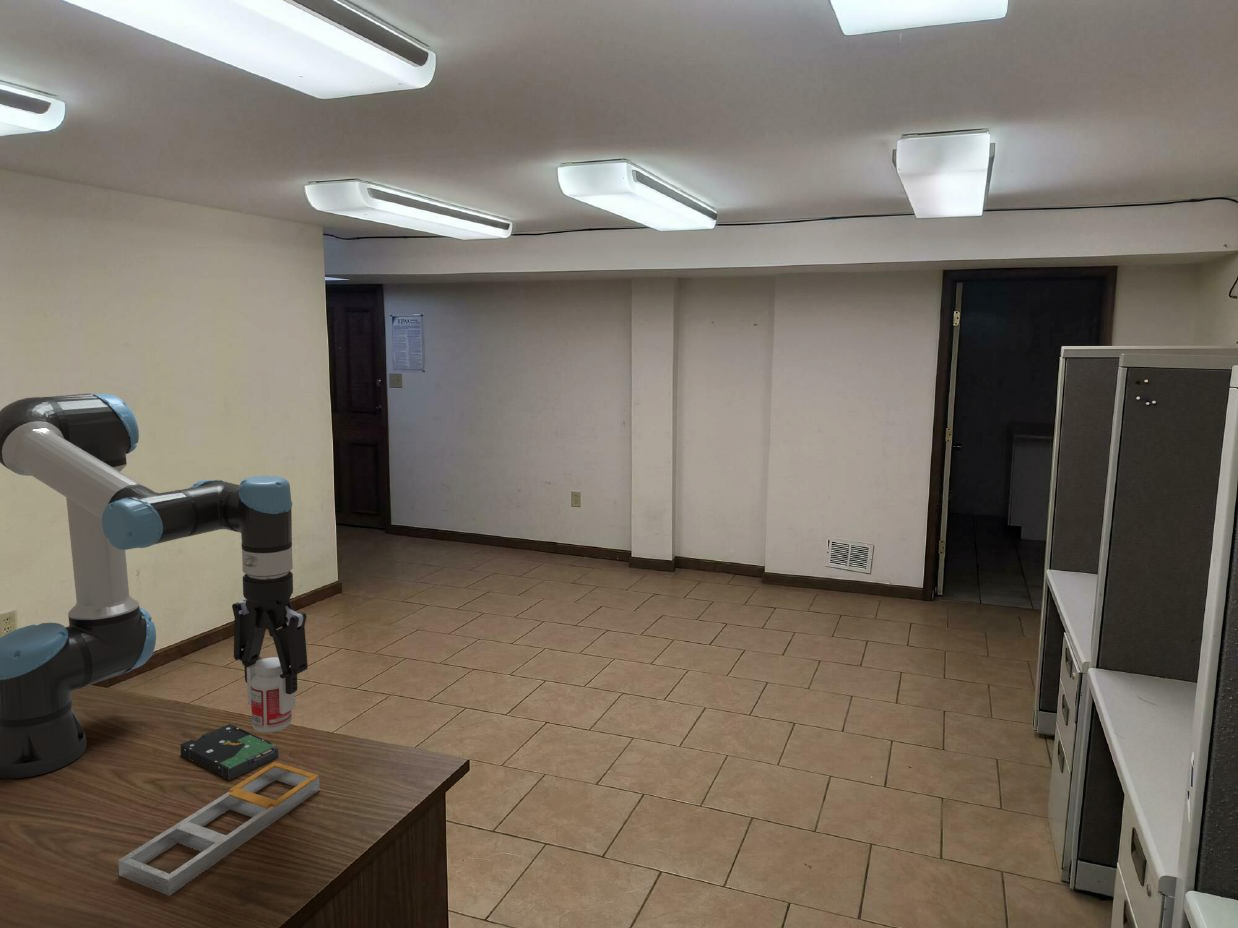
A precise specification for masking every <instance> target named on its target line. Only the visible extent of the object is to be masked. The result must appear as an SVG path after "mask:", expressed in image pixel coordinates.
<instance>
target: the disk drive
mask: <svg viewBox="0 0 1238 928" xmlns="http://www.w3.org/2000/svg"><path fill="white" fill-rule="evenodd" d="M181 755H182V756H181ZM180 756H181V757H183V756H184V759H186V758H188V759H191V760H193V761H194V762H193V761H192V762H193V763H195V762H196V763H195V764H197V763H198V764H197V765H199V764H200V765H199V766H201V765H202V766H204V767H206V768H207V769H206V768H205V769H206V770H208V769H210V770H211V771H210V770H209V771H210V772H212V771H213V772H212V773H214V772H215V773H214V774H216V773H217V774H216V775H218V776H219V775H220V776H219V777H221V776H223V777H225V778H226V780H227V779H228V780H227V781H231V779H232V780H234V779H235V777H236V778H237V776H238V775H240V776H242V775H244V774H246V773H248V772H251V771H252V770H255V769H256V768H259V767H261V766H262V765H265V764H267V763H268V762H271V761H272V760H275V759H277V758H279V748H277V746H276V745H275V744H273V743H272V742H271V741H269V740H266V739H264V738H262V737H259V736H258V735H256V734H253V733H250V732H249V731H246V730H244V729H242V728H241V727H239V726H236V725H234V724H231V723H228V724H226V725H223V726H222V727H219V728H217V729H214V730H211V731H209V732H207V733H205V734H202V735H201V736H200V737H199V738H198V739H197V740H193V739H190V740H188V741H185V742H182V743H181V744H180ZM188 759H187V760H188ZM191 760H190V761H191ZM202 766H201V767H202ZM204 767H203V768H204ZM241 774H242V775H241ZM223 777H222V778H223ZM238 777H239V776H238ZM225 778H224V779H225ZM233 778H234V779H233Z"/></svg>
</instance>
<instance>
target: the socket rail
mask: <svg viewBox="0 0 1238 928" xmlns="http://www.w3.org/2000/svg"><path fill="white" fill-rule="evenodd" d="M275 781H277V782H280V783H283V784H286V785H289V786H291V787H292V786H293V788H292V789H290V790H289V791H287V792H286V793H284V794H283V795H281V796H280V797H278V798H276V799H274V798H273V799H272V798H271V797H267V796H263V795H261V794H257V793H258V792H259V791H260V790H262V789H264V788H265V787H267V786H268V785H270V784H271V783H273V782H275ZM319 791H320V775H319V774H316V773H314V772H310V771H307V770H303V769H300V768H296V767H294V766H290V765H287V764H284V763H281V762H277V761H273V762H272V763H270V764H268V765H267V766H264V768H262V769H260V770H259V771H257V772H255V773H253V774H252V775H251V776H249V777H247V778H246V779H245V778H244V780H242V781H241V782H239V783H238V784H236V785H234V786H233V787H231V788H229V790H228V791H227V792H226V793H224V794H223V795H220V796H219V797H218V798H216V799H214V800H213V801H211V802H210V803H208V804H207V805H204V806H203V807H202V808H200V809H198V810H196V811H195V812H194V813H192V814H190V815H189V816H188V817H186V818H183V819H182V820H181V821H179V822H177V823H176V824H174V825H173V826H171V827H169V828H168V829H166V830H164V831H163V832H161V833H159V834H158V835H156V836H154V837H153V838H152V839H150V840H148V841H147V842H145V843H144V844H142V845H140V846H139V847H138V848H137V847H136V848H135V849H134V850H132V851H131V852H129V853H128V854H126V855H125V856H123V857H120V858H119V859H118V875H119V876H118V877H122V878H124V879H127V880H129V881H131V882H134V883H136V884H139V885H141V886H143V887H146V888H149V889H151V890H153V891H156V892H159V893H161V894H164V895H165V896H168V897H170V896H172V895H173V894H175V893H176V892H177V891H179V890H180V889H181V888H183V887H185V886H186V885H187V884H189V883H190V882H192V881H193V880H194V879H196V878H197V877H199V876H200V875H201V874H202V872H203V873H204V872H206V871H207V870H208V869H210V868H211V867H212V866H214V865H216V864H217V863H218V862H220V861H221V860H222V858H223V859H224V858H225V857H227V856H228V855H230V854H232V853H233V852H234V851H235V850H237V849H238V848H239V847H241V846H242V845H244V844H245V843H247V842H248V841H249V840H251V839H252V838H253V837H255V836H257V835H258V834H260V833H261V832H263V830H265V829H267V828H268V827H270V825H272V824H274V823H276V821H278V820H279V819H281V818H282V817H284V816H285V815H286V814H287V813H290V812H291V811H292V810H293V809H295V808H296V807H297V806H299V805H300V804H302V803H303V802H304V801H306V800H307V799H309V798H310V797H312V796H313V795H315V794H316V793H317V792H319ZM226 811H227V812H228V811H233V812H235V813H239V814H241V815H244V816H247V817H250V819H248V820H247V821H245V822H244V823H242V824H241V825H239V826H238V827H236V828H235V829H233V830H232V831H230V832H229V833H228V834H223V833H220V832H218V831H215V830H212V829H209V828H207V827H205V826H206V825H208V824H209V823H211V822H212V821H214V820H216V819H218V818H220V816H221V815H223V814H225V813H227V812H226ZM177 844H179V845H181V844H182V846H184V847H186V848H189V847H190V848H189V849H192V848H193V849H192V850H194V851H197V850H198V852H200V853H198V854H196V856H194V857H191V859H190V860H188V861H187V862H185V863H183V864H182V865H180V866H179V867H178V868H176V869H175V870H173V871H171V872H170V873H168V872H166V871H164V870H160V869H158V868H155V867H153V866H150V865H148V863H149V862H150V861H152V860H154V859H155V858H157V857H159V856H160V855H162V854H163V853H164V852H166V851H168V850H169V849H171V848H172V847H174V846H175V845H177ZM173 845H174V846H173ZM205 870H206V871H205ZM199 874H200V875H199ZM196 876H197V877H196ZM195 877H196V878H195ZM192 879H193V880H192ZM189 881H190V882H189ZM188 882H189V883H188ZM186 883H187V884H186ZM185 884H186V885H185ZM178 889H179V890H178Z"/></svg>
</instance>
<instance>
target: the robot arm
mask: <svg viewBox="0 0 1238 928" xmlns="http://www.w3.org/2000/svg"><path fill="white" fill-rule="evenodd" d="M139 431H140V430H139V426H138V422H137V419H136V416H135V414H134V413H133V411H132V409H131V408H130V407H129V406H128V405H127V403H126V402H125V401H124V400H123V399H121V398H119V397H118V396H116V395H114V394H110V393H91V392H90V393H79V394H67V395H56V396H52V395H51V396H33V397H25V398H22V399H17V400H15V401H13V402H11V403H9V404H7V405H5V406H4V407H3V408H2V409H0V464H1V465H2V466H3V467H5V468H6V469H8V470H9V471H11V472H13V473H15V474H17V475H20V476H26V477H28V476H29V477H31V476H32V477H33V478H35V479H36V480H37V481H40V482H41V483H43V484H45V485H46V486H48V487H49V488H51V489H53V490H54V491H56V492H57V493H58V494H60V495H62V496H64V497H65V499H66V508H67V521H68V528H69V539H70V548H71V551H70V552H71V558H72V568H73V569H72V570H73V580H74V589H75V598H76V603H75V605H74V606H73V607H72V608H71V609H70V610H69V611H68V613H67V616H68V626H65V625H63V624H61V623H57V622H42V623H41V622H40V623H38V624H30V625H26V626H22V627H19V628H18V629H14V630H12V631H9V632H8V633H6V634H4V635H2V636H1V637H0V779H22V778H28V777H35V776H40V775H44V774H47V773H50V772H53V771H56V770H59V769H61V768H64V767H65V766H68V765H70V764H71V763H74V762H75V761H76V760H77V759H79V758H80V757H81V756H82V755H83V754H84V753H85V752H86V749H87V735H86V732H85V731H84V729H83V727H82V724H81V723H80V721H79V719H78V717H77V715H76V713H75V710H74V709H73V699H72V693H73V692H74V691H76V690H79V689H82V688H85V687H88V686H91V685H94V684H96V683H99V682H101V681H106V680H108V679H110V678H111V679H112V678H114V677H117V676H120V675H125V674H127V673H129V672H131V671H132V670H135V669H138V668H140V667H142V666H143V665H145V664H146V663H147V661H148V660H150V658H151V657H152V655H153V654H154V651H155V649H156V648H155V647H156V642H157V630H156V626H155V623H154V621H152V619H153V618H152V615H151V614H150V613H149V612H148V611H147V610H146V609H145V608H143V607H140V602H139V601H138V600H136V599H135V598H133V597H131V595H130V588H129V578H128V576H129V575H128V567H127V564H128V563H127V556H126V555H127V554H126V551H127V550H133V549H144V548H148V547H151V546H154V545H157V544H161V543H166V542H170V541H174V540H175V541H176V540H179V539H183V538H187V537H192V536H196V535H197V536H198V535H202V534H206V533H210V532H215V531H220V530H227V531H232V532H237V533H240V535H241V536H240V538H241V561H242V562H241V563H242V572H243V573H244V574H243V576H242V591H243V592H242V596H243V597H244V599H243V600H240V601H237V602H235V603H233V604H232V605H231V607H232V613H233V616H234V623H233V624H234V625H233V628H234V629H233V659H234V660H235V661H238V660H239V661H241V663H242V665H243V666H244V669H243V670H244V682H245V683H246V691H247V705H250V706H251V679H252V678H253V676H254V675H256V673H255V664H256V662H258V661H259V660H262V659H263V657H261V651H262V646H263V644H264V638H265V633H266V631H267V630H268V635H269V636H270V637H271V638H272V639H273V642H274V646H275V651H276V654H277V657H278V658H279V662H280V665H281V669H282V673H283V674H281V675H279V707H280V713H281V714H285V713H286V712H288V711H290V710H293V709H296V692H297V691H298V675H299V674H301V673H303V672H305V671H307V670H308V668H309V667H308V666H309V665H308V663H309V662H308V655H307V653H308V651H307V640H306V629H305V628H306V627H305V626H306V622H307V617H308V616H307V614H306V612H303V611H302V612H300V613H298V612H297V611H295V610H293V606H292V603H291V597H292V595H293V593H294V575H293V574H294V573H293V572H292V571H291V570H292V569H294V566H293V527H292V526H293V524H292V523H293V522H292V521H293V520H292V519H293V517H292V514H293V513H292V507H293V501H292V495H291V494H292V493H291V486H290V485H291V484H290V482H289V480H288V479H286V478H284V477H282V476H281V477H280V476H274V475H273V476H271V475H258V476H257V475H256V476H251V477H246V478H244V479H243V480H241V481H240V483H239V484H236V483H232V482H228V481H225V480H224V481H223V480H222V479H202V480H199V481H197V482H195V483H194V484H193V485H191V486H190V487H188V488H184V489H176V490H171V491H165V492H155V491H153V490H152V489H151V488H148V487H147V486H144V485H143V484H142V483H140V482H138V481H136V480H135V479H133V478H131V477H130V476H128V475H126V474H125V473H123V472H121V471H123V469H125V468H126V466H128V465H127V454H128V455H129V454H130V453H131V452H133V451H135V450H136V448H137V447H138V446H137V444H138V443H139V440H140V432H139Z"/></svg>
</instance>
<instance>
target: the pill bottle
mask: <svg viewBox="0 0 1238 928" xmlns="http://www.w3.org/2000/svg"><path fill="white" fill-rule="evenodd" d="M255 673H256V675H254V676H253V678H252V679H251V705H250V706H251V725H252V728H253V729H254V730H255V731H256V732H260V733H275V732H279V731H282V730H284V729H286V728H287V727H288V726H290V725H291V723H292V720H293V714H292V713H293V712H292V710H293V709H292V710H290V711H288V712H286V713H285V714H281V713H280V707H279V675H281V674H283V673H282V669H281V665H280V662H279V658H278V656H277V657H276V656H274V657H273V656H272V657H266V658H262V659H260V660H258V661H256V664H255Z"/></svg>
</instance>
